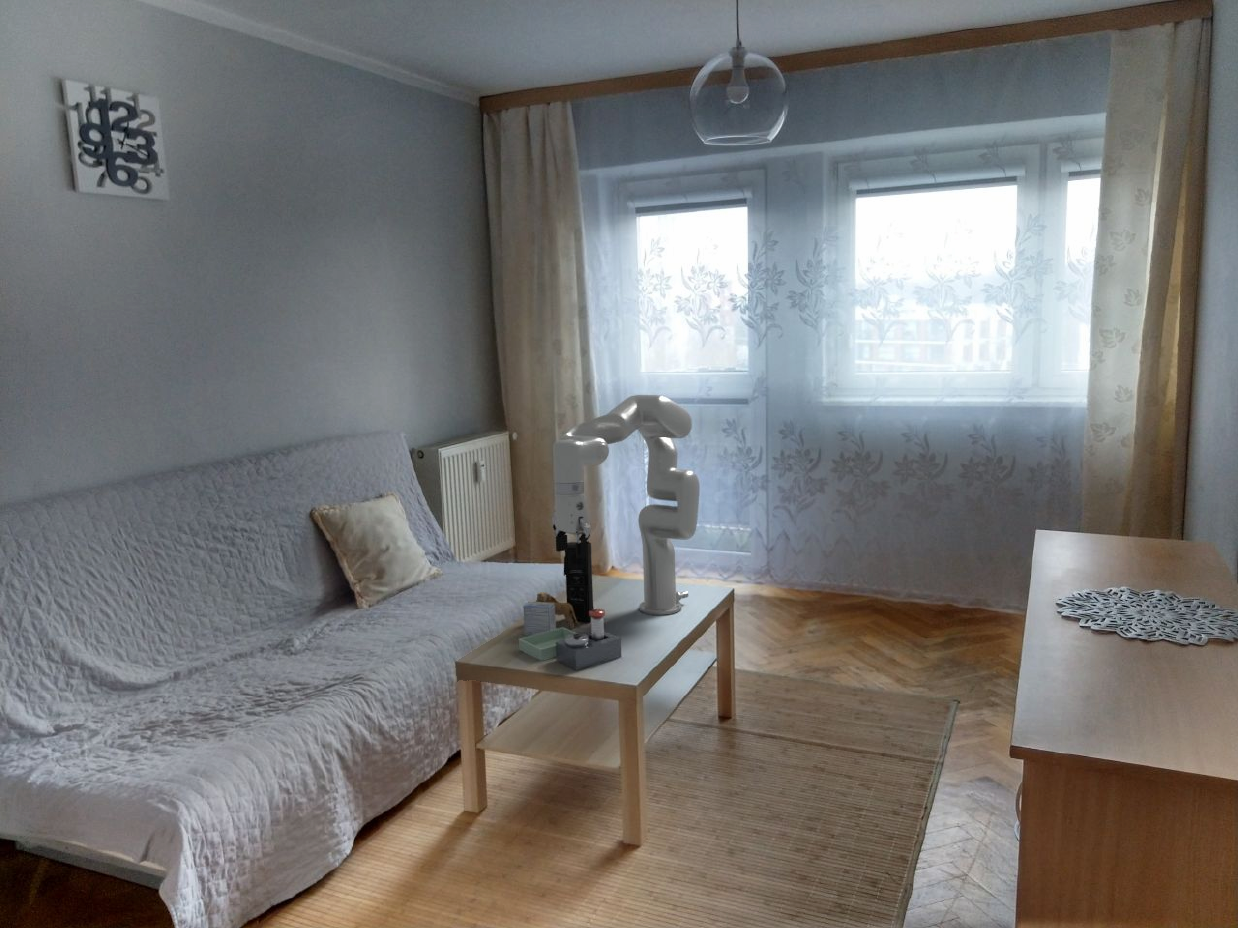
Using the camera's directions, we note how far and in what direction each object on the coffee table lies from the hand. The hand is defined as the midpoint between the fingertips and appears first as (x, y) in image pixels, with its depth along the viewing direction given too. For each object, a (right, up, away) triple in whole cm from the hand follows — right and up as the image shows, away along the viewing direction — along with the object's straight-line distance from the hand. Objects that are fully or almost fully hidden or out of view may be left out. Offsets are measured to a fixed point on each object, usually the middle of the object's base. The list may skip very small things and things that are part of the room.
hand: (571, 553), depth 234 cm
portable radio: (+1, -22, +30) cm, 38 cm away
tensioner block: (+4, -27, -1) cm, 27 cm away
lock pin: (+7, -26, +1) cm, 27 cm away
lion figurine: (-5, -23, +27) cm, 36 cm away
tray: (-5, -26, +7) cm, 27 cm away
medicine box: (-10, -24, +19) cm, 33 cm away
